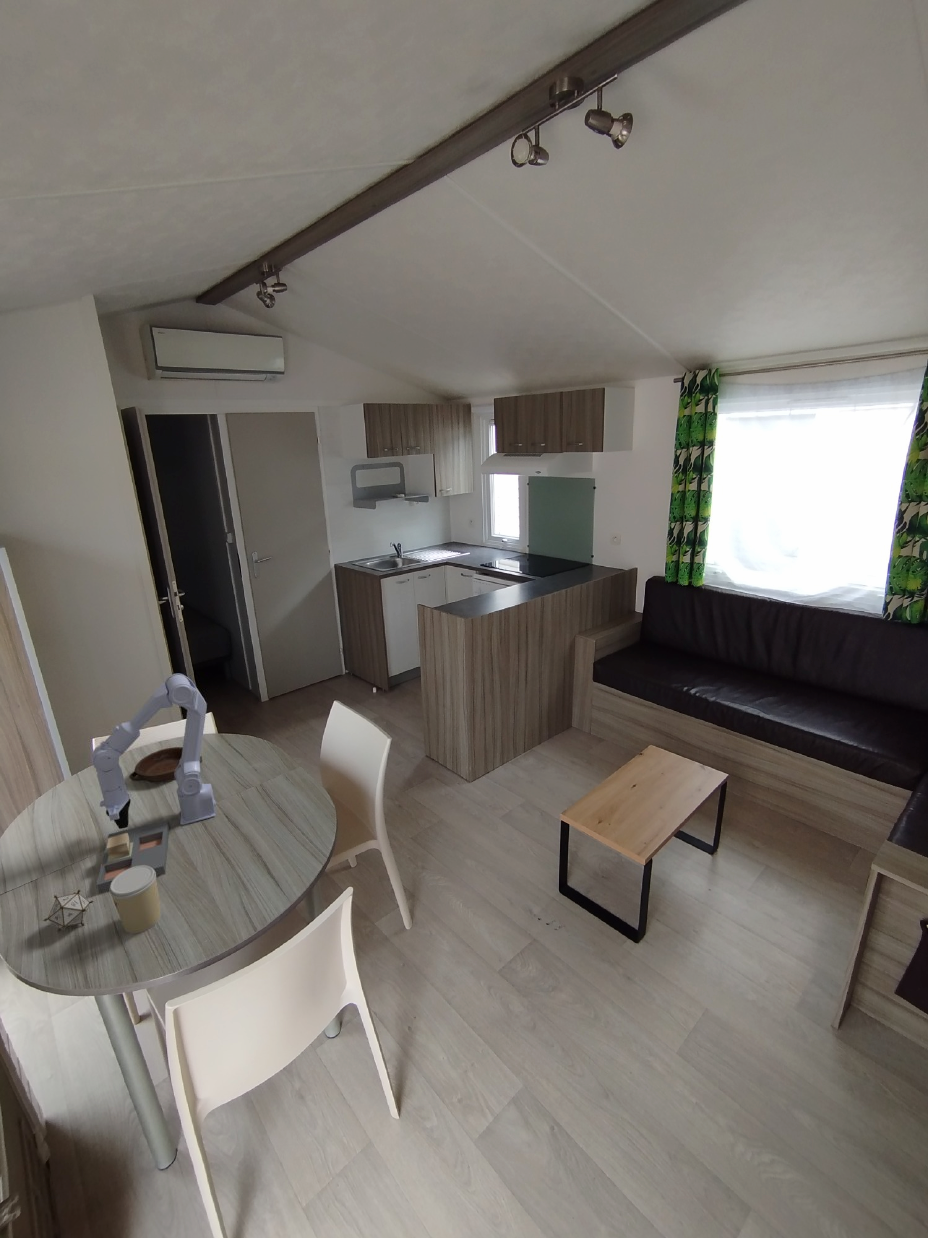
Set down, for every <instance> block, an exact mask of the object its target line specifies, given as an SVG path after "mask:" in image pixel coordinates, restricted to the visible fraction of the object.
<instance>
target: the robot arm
mask: <svg viewBox="0 0 928 1238" xmlns="http://www.w3.org/2000/svg"><path fill="white" fill-rule="evenodd" d="M173 704H174V705H177V706H179V707H182V708H183V709H185V710H187V711H186V719H185V727H184V736H183V737H184V738H183V744H182V747H183V750H182V757H181V759H180V761H179V765H178V767H177V768H176V770H175V772H174V776H175V781H176V783H177V788H176V795H177V798H178V799H177V800H178V803H179V807H180V826H184V825H187V824H191V823H196V822H199V821H202V820H207V819H211V818H215V817H216V806H217V802H216V799H215V798H214V797H215V796H214V791H213V787H212V784H211V783H203V780H202V778H201V763H200V756H201V754H202V753H201V752H202V743H203V739H204V738H203V736H204V730H205V722H206V714H207V707H208V706H207V705H208V703H207V702H206V701H205V698H204V697H203V696H202V694H201V692H200V691H199V689H198V688H197V686H196V685H195V683H194V682H193V680H192V679H190V678H189V677H188V676H186V675H185V674H183V673H173V674H171V675H169V676H168V677H167V678H166V679H165V682H162V683H161V684H160V685H159V686H158V687H157V689H156V690H155V691H154V692H153V694H152V695H151V696H150V697H149V698H148V700H147V701H146V702H145V703H144V704H143V705H142V707H141V708H140V709H139V710H138V711H137V712H136V714H134V716H133V717H132V718H131V720H129V721H126V722H122V723H120V725H119V726H118V725H115V726H114V728H113V730H112V731H113V732H112V733H111V735H109V736H108V737H107V738H106V739H105V740H102V741H101V742H100V744H99V745H98V746H96V747H95V748H94V749H93V751H92V765H93V767H94V768H95V771H96V773H97V774H96V777H97V779H98V783H99V787H100V790H101V794H102V797H103V800H101V801H100V803H99V807H101V808H103V807H105V809H106V811H105V813H106V816H107V817H109V820H110V821H111V822H112V821H114V824H116V827H118V829H119V830H122V829H126V828H128V827H129V819H130V818H129V810H130V806H131V801H132V800H131V798H130V797H131V796H130V794H129V793H128V790H127V789H128V788H127V785H126V782H125V778H124V773H123V769H122V767H121V765H120V756H122V755H123V754H124V753H126V751H127V750H128V749H129V748H130V747H131V746H132V745H133V744H134V743H135V742H136V740H137V739H139V737H141V732H140V730H141V728H143V727H144V726H145V725H146V724H147V723H148V722H149V721H150V720H151V719H152V718H153V717H155V715H156V714H157V713H158V712H159V711H160V710H161V709H165V708H167V709H169V708H173V707H174V706H173Z"/></svg>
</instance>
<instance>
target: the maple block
mask: <svg viewBox="0 0 928 1238" xmlns="http://www.w3.org/2000/svg"><path fill="white" fill-rule="evenodd" d="M107 840H108V844H107V843H106V844H107V851H108V855H109V858H110V861H112V860H115V859H119V858H122V857H125V856H129V855H130V848H131V844H130V840H129V836H128V833H125V834H122V835H118V836H114V837H111V838H108V837H107Z"/></svg>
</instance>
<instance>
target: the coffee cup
mask: <svg viewBox="0 0 928 1238" xmlns="http://www.w3.org/2000/svg"><path fill="white" fill-rule="evenodd" d="M108 891H109V894H110V896H111V898H112V901H113V904H114V907H115V908H116V911H117V913H118V914H117V915H119V918H120V922H121V924H122V926H123V928H124V930H125V931H126V932H127V933H129V934H139V933H143V932H145V931H148V930H149V929H150V928H152V927H154V926H155V925H156V924H157V923H158V922H159V920H160V919H161V915H162V911H161V910H162V909H161V903H160V901H161V900H160V895H159V889H158V881H157V876H156V872H155V870H154V869H152V868H151V867H149V866H145V865H141V866H135V867H132V868H129V869H127V870H125V871H123V872H122V873H120V874H119V875H117V876H116V877H115V878H114V880H113V881H112V883H111V885H110V889H109V890H108Z"/></svg>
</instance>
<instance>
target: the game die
mask: <svg viewBox="0 0 928 1238" xmlns="http://www.w3.org/2000/svg"><path fill="white" fill-rule="evenodd" d="M80 892H81V889H78V890H77V891H75V892H73V893H71V894H66V895H62V896H57V895H53V898H54V899H55V900H54V903H53V905H52V907H51V910H50V912H49V914H48V917H47V918H44V919H43V920H42V921H43V922H47V921H49V922H51V923H52V924H53V925H54V926H56V927H57V928H58V929H57V933H60V931H61V929H62V931H64V930H65V929H66V928H69V927H73V926H77V925H81V926H85V923H84V919H85V916H86V915H87V912H88V909H89V907H90V904H93V903H94V900H90V901H89V900H88V899H86V898H85V897H84V896H83V895H82V894H80Z"/></svg>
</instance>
